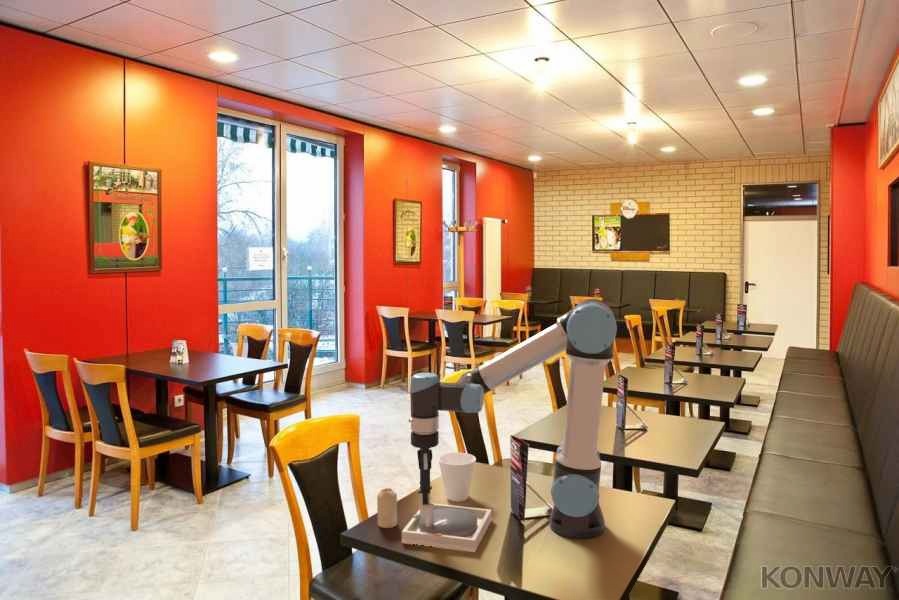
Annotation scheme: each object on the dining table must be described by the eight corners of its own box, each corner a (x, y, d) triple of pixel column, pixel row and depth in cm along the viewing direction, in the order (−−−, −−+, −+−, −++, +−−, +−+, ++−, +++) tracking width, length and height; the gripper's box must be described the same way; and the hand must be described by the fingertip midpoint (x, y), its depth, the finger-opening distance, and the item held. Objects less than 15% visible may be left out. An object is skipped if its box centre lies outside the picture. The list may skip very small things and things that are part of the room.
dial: (451, 510, 195) (451, 483, 195) (489, 528, 183) (489, 499, 182) (407, 525, 185) (407, 497, 184) (444, 545, 173) (444, 516, 172)
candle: (394, 529, 186) (393, 494, 185) (375, 527, 187) (374, 493, 186) (399, 520, 191) (398, 487, 190) (381, 519, 193) (380, 485, 192)
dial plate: (491, 520, 191) (491, 508, 191) (474, 552, 172) (474, 539, 172) (425, 512, 197) (425, 501, 196) (401, 543, 178) (401, 530, 177)
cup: (476, 504, 202) (476, 465, 201) (437, 504, 203) (437, 465, 201) (475, 489, 214) (475, 452, 213) (438, 489, 214) (438, 452, 213)
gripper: (410, 423, 186) (411, 504, 189) (411, 438, 173) (411, 525, 176) (437, 423, 187) (437, 503, 189) (439, 437, 174) (440, 524, 176)
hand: (425, 514), depth 183 cm, fingers closed
